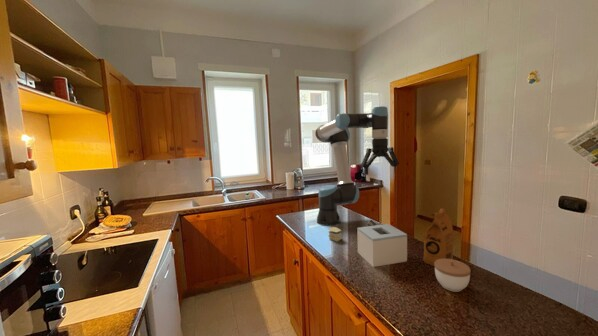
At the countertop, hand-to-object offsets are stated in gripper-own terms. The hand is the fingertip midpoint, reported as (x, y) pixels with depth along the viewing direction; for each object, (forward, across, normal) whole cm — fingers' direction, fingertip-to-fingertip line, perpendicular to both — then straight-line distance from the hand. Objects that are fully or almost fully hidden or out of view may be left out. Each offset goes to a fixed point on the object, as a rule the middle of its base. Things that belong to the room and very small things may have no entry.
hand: (380, 180), depth 125 cm
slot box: (+32, -10, -17) cm, 37 cm away
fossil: (+32, 0, +6) cm, 33 cm away
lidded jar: (+32, +1, -44) cm, 54 cm away
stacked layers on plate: (+32, -22, +8) cm, 40 cm away
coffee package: (+32, +10, -28) cm, 44 cm away
